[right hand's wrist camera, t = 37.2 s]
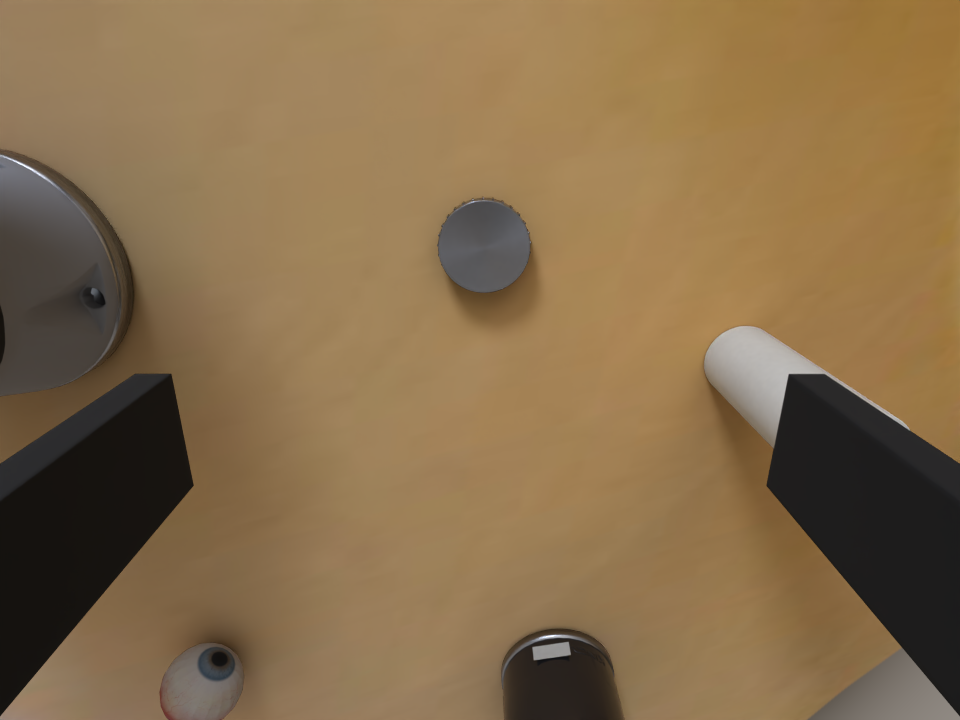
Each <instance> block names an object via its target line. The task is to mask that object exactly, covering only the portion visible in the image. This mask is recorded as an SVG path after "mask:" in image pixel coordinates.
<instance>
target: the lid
mask: <svg viewBox="0 0 960 720" xmlns="http://www.w3.org/2000/svg"><path fill="white" fill-rule="evenodd" d="M525 224H526V223H525V221H524V220H522V219H521V217H520V214H519V212H516V211H515V210H514V209H513V207H512V206H511V205H510V206H509V205H507V204H505V203H504V202H503V201H499V200H495V199H494V198H493V197H492V199H490V198H484V197H482V198H478V199H474V198H472V200H470V201H467V202H463V203H462V204H461V205H460V206H458V207H457V208H456V207H455V208H454V211H453V212H452V213H451V214H450V215H449V214H448V215H447V219H446V221H445V223H443V224H442V230H441V232H440V233H439V235H438V236H439V242H438V245H437V246H438V251H439V254H438V256H439V257H440V261H441V263H442V264H441V265H442V266H443V268H444V270H445V272H446V273H447V274H448V276H449V277H450V278H451V279H452V280H453V281H454V282H455V283H457V284H458V285H460V286H461V287H463V288H465V289H467V290H470V291H474V292H479V293H488V292H494V291H498V290H501V289H503V288H505V287H507V286H509V285H510V284H512V283H513V282H514V281H515V280H516V279H517V278H518V277H519V276H520V275H521V273H522V272H523V270H524V269H525V267H526V265H527V263H528V259H529V254H530V244H531V241H530V238H529V231H528V229H527V228H526V226H525Z"/></svg>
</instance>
